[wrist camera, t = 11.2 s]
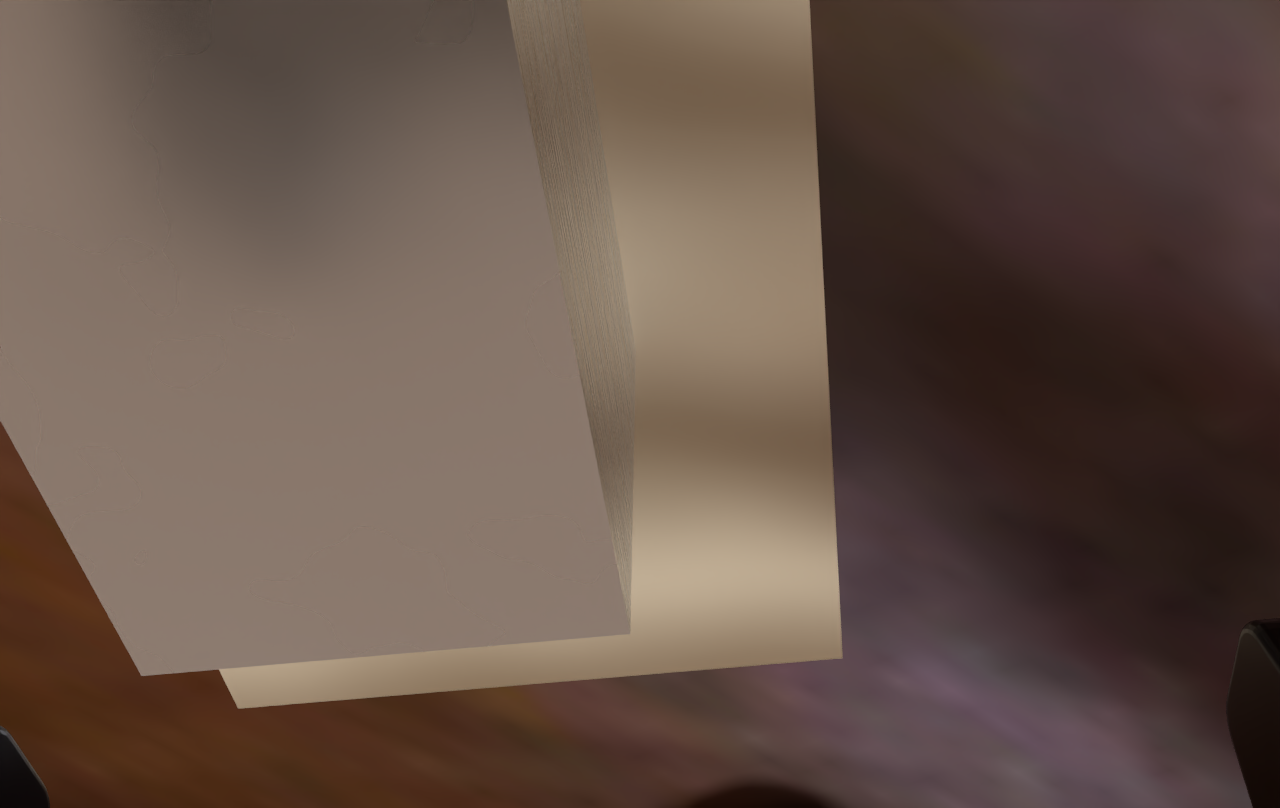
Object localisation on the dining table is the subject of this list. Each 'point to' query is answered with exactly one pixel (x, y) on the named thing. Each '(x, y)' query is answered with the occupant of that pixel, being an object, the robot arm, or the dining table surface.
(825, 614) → the rail board
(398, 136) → the saddle block
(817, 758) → the dining table surface
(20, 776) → the robot arm
